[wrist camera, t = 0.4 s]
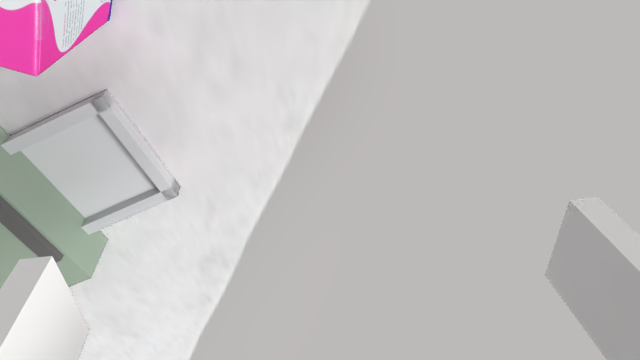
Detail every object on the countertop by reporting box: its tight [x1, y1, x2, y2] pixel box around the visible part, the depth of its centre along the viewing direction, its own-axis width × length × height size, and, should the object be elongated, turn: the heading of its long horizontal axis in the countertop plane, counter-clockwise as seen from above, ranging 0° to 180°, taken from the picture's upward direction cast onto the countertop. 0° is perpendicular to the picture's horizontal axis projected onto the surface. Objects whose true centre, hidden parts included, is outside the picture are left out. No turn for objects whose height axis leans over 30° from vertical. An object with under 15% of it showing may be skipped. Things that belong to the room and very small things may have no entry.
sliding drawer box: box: [0, 90, 181, 289], centre depth 35 cm, size 14×18×6 cm
